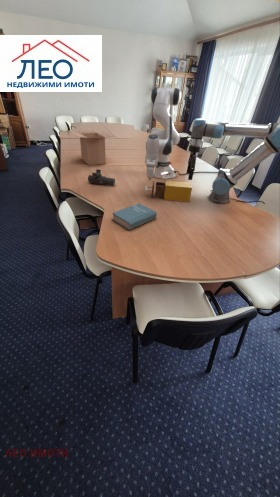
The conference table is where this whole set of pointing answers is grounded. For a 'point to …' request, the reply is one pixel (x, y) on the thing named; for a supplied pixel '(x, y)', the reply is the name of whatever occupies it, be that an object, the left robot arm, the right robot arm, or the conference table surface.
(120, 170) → the conference table surface
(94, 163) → the box
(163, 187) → the drawer
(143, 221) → the book
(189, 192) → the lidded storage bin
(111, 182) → the laser sight
